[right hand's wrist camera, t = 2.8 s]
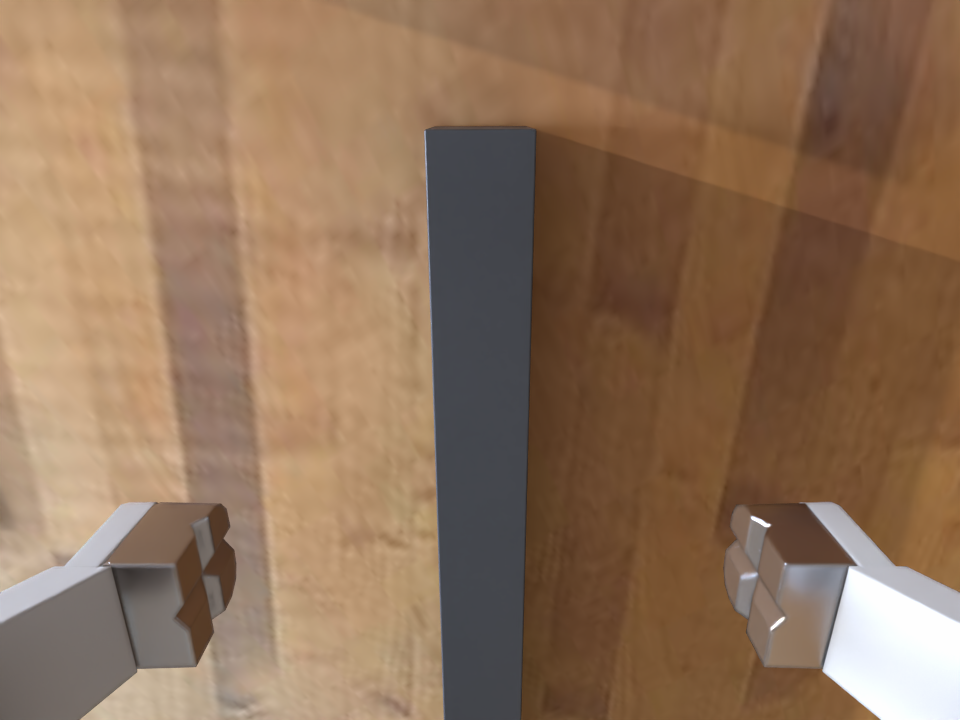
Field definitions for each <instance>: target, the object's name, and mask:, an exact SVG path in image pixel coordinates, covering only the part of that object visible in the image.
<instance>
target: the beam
mask: <svg viewBox="0 0 960 720" xmlns="http://www.w3.org/2000/svg"><path fill="white" fill-rule="evenodd" d="M425 161H426V191H427V221H428V252H429V282H430V312H431V342H432V372H433V403H434V433H435V463H436V493H437V524H438V554H439V584H440V614H441V644H442V675H443V705H444V720H521V701H522V663H523V625H524V586H525V548H526V510H527V471H528V433H529V395H530V356H531V318H532V280H533V241H534V203H535V165H536V129H533V128H530V127H527V126H440V127H432V128H429V129H426V130H425Z"/></svg>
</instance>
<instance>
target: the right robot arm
mask: <svg viewBox="0 0 960 720" xmlns="http://www.w3.org/2000/svg"><path fill="white" fill-rule="evenodd" d="M229 528H230V522H229V518H228V513H227V509H226V508H225V507H224V506H223V505H222V504H217V503H169V502H160V503H157V502H129V503H125V504H122V505H120V506H119V507H118V509H117V510H116V511H115V512H114V513H113V514H112V515H111V516H110V517H109V518H108V519H107V520H106V522H105V523H104V524H103V525H102V526H101V527H100V528H99V529H98V530H97V531H96V532H95V533H94V535H93V536H92V537H91V538H90V539H89V540H88V541H87V542H86V543H85V544H84V545H83V546H82V548H81V549H80V550H79V551H78V552H77V553H76V554H75V555H74V556H73V557H72V558H71V559H70V561H69V562H68V563H67V564H66V565H65V566H54V567H52V568H49V569H47V570H45V571H43V572H41V573H39V574H37V575H35V576H33V577H31V578H29V579H27V580H25V581H23V582H21V583H18V584H16V585H14V586H12V587H10V588H8V589H6V590H4V591H2V592H0V720H80V719H81V718H82V717H83V716H84V715H86V714H87V713H88V712H89V711H91V710H92V709H93V708H94V707H95V706H97V705H98V704H99V703H100V702H101V701H103V700H104V699H105V698H106V697H107V696H109V695H110V694H111V693H112V692H114V691H115V690H116V689H117V688H118V687H120V686H121V685H122V684H123V683H124V682H126V681H127V680H128V679H129V678H131V677H132V676H133V675H134V674H135V673H137V669H146V668H181V667H196V666H197V664H198V662H199V660H200V659H201V657H202V655H203V653H204V651H205V649H206V647H207V645H208V643H209V641H210V639H211V637H212V635H213V633H214V629H213V624H212V619H214V618H215V617H217V616H218V615H219V614H221V613H222V612H224V611H225V610H226V608H227V606H228V604H229V602H230V599H231V597H232V594H233V590H234V585H235V581H236V558H235V551H234V549H233V548H232V547H231V546H230V545H229V544H228V543H227V542H226V541H225V540H224V539H223V538H224V537H225V535H226V533H227V531H228V530H229ZM730 528H731V530H732V531H733V533H734V535H735V537H736V538H737V539H736V540H735V541H734V542H733V543H732V544H731V545H730V546H729V547H728V548H727V549H726V552H725V559H724V567H723V569H724V580H725V587H726V590H727V594H728V597H729V600H730V602H731V604H732V606H733V608H734V610H735V611H736V612H738V613H739V614H741V615H742V616H743V617H745V618H746V619H748V624H747V629H746V633H747V635H748V637H749V639H750V641H751V643H752V645H753V647H754V649H755V651H756V653H757V655H758V657H759V658H760V660H761V662H762V664H763V666H764V667H778V668H813V669H823V671H822V672H824V673H825V674H826V675H827V676H829V677H830V678H831V679H832V680H833V681H835V682H836V683H837V684H838V685H839V686H841V687H842V688H843V689H844V690H845V691H847V692H848V693H849V694H850V695H852V696H853V697H854V698H855V699H856V700H858V701H859V702H860V703H861V704H862V705H864V706H865V707H866V708H867V709H868V710H870V711H871V712H872V713H873V714H875V715H876V716H877V717H878V718H879V719H881V720H960V592H958V591H956V590H954V589H952V588H950V587H948V586H946V585H943V584H941V583H939V582H937V581H935V580H933V579H931V578H929V577H927V576H925V575H923V574H921V573H919V572H917V571H915V570H913V569H911V568H908V567H906V566H895V565H894V564H893V563H892V562H891V561H890V560H889V558H888V557H887V556H886V555H885V554H884V553H883V552H882V551H881V550H880V549H879V548H878V546H877V545H876V544H875V543H874V542H873V541H872V540H871V539H870V538H869V537H868V536H867V535H866V533H865V532H864V531H863V530H862V529H861V528H860V527H859V526H858V525H857V524H856V523H855V522H854V520H853V519H852V518H851V517H850V516H849V515H848V514H847V513H846V512H845V511H844V510H843V509H842V507H841V506H840V505H838V504H835V503H833V502H809V503H790V504H738V505H736V506H735V508H734V510H733V512H732V516H731V522H730Z"/></svg>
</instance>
